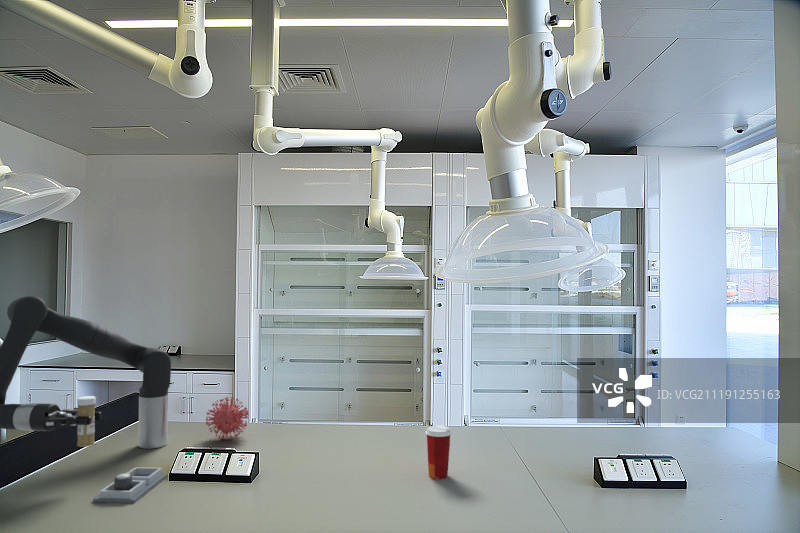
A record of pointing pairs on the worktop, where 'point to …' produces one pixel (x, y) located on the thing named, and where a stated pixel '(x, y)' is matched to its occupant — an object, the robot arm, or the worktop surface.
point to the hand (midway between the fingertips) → (95, 418)
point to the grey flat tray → (131, 485)
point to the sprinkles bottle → (86, 431)
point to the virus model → (227, 418)
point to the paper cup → (438, 451)
